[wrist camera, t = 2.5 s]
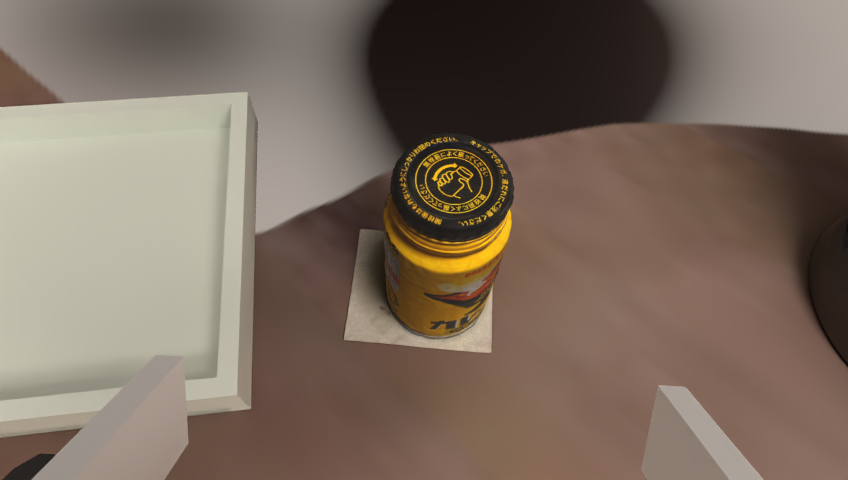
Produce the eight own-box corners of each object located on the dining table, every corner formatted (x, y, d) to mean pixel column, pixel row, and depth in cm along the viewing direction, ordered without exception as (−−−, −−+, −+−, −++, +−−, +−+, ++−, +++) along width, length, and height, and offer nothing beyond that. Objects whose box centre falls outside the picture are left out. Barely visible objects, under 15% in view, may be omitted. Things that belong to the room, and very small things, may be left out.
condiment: (491, 353, 32) (534, 257, 22) (343, 340, 32) (317, 238, 22) (493, 242, 36) (532, 114, 25) (360, 231, 36) (344, 98, 25)
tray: (257, 122, 40) (247, 91, 37) (250, 408, 30) (237, 395, 28) (-46, 142, 38) (-79, 112, 35) (-156, 455, 28) (-212, 445, 26)
